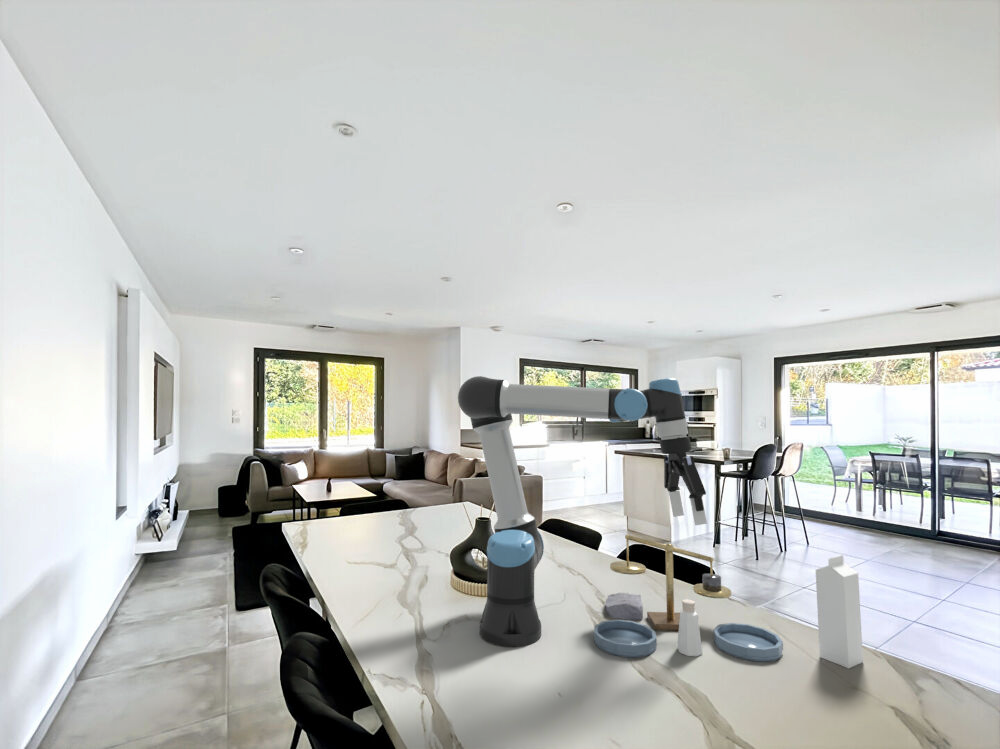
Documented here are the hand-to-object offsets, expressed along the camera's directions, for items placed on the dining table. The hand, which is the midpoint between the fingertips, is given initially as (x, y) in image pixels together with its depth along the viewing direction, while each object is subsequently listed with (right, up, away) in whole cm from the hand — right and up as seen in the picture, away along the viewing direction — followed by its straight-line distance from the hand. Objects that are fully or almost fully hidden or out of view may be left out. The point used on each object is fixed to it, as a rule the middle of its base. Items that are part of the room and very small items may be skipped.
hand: (689, 520), depth 129 cm
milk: (+26, -26, -18) cm, 41 cm away
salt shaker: (-5, -26, -15) cm, 30 cm away
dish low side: (+9, -26, -13) cm, 30 cm away
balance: (-5, -27, 0) cm, 27 cm away
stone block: (-15, -28, +9) cm, 33 cm away
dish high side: (-19, -26, -11) cm, 34 cm away
